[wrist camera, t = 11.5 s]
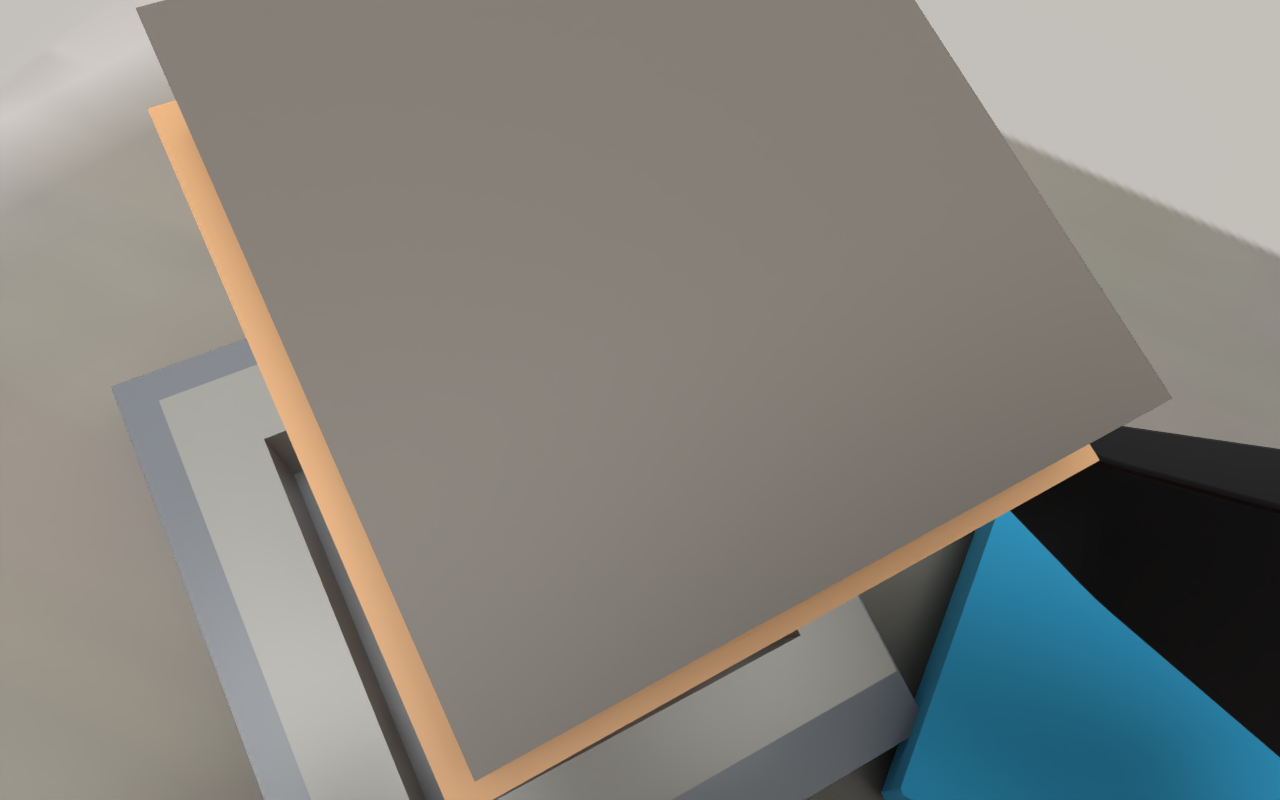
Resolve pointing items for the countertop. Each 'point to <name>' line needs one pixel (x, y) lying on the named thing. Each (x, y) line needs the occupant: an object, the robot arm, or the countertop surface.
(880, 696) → the jig cradle
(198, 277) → the countertop surface
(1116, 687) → the blue block
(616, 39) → the block
